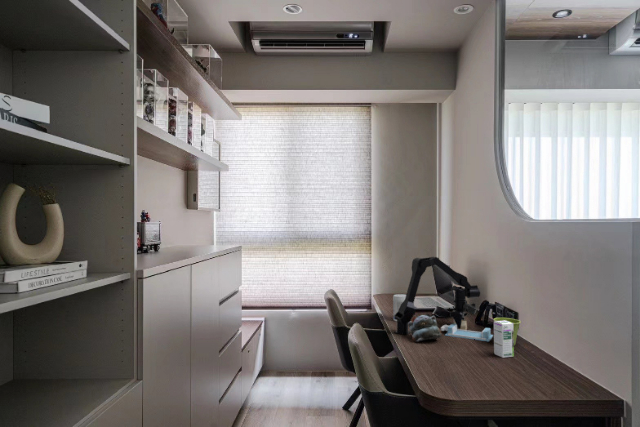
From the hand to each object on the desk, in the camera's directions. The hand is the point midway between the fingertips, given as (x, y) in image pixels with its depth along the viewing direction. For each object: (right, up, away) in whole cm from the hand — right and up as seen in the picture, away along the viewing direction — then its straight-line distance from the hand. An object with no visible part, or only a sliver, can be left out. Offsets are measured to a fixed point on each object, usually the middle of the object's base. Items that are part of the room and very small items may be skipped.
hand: (460, 327), depth 225 cm
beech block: (0, -1, 0) cm, 1 cm away
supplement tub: (-28, -2, +20) cm, 34 cm away
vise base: (0, -1, -12) cm, 12 cm away
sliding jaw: (-8, 0, -7) cm, 11 cm away
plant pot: (+13, -1, -27) cm, 30 cm away
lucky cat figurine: (-24, -1, -20) cm, 32 cm away
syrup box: (+4, 0, -43) cm, 44 cm away
